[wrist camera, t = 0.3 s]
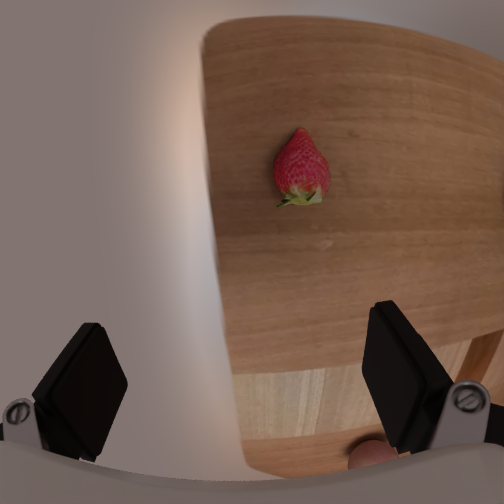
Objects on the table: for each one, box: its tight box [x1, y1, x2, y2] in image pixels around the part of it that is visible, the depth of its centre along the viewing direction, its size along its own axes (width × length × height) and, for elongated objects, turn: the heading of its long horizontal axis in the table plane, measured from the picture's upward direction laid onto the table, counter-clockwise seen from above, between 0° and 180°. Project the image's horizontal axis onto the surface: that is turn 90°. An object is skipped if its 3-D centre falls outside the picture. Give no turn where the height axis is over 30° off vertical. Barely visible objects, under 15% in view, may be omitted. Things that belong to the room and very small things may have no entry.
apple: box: [348, 440, 399, 470], centre depth 32 cm, size 8×8×8 cm
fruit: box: [273, 128, 331, 207], centre depth 20 cm, size 4×6×5 cm
